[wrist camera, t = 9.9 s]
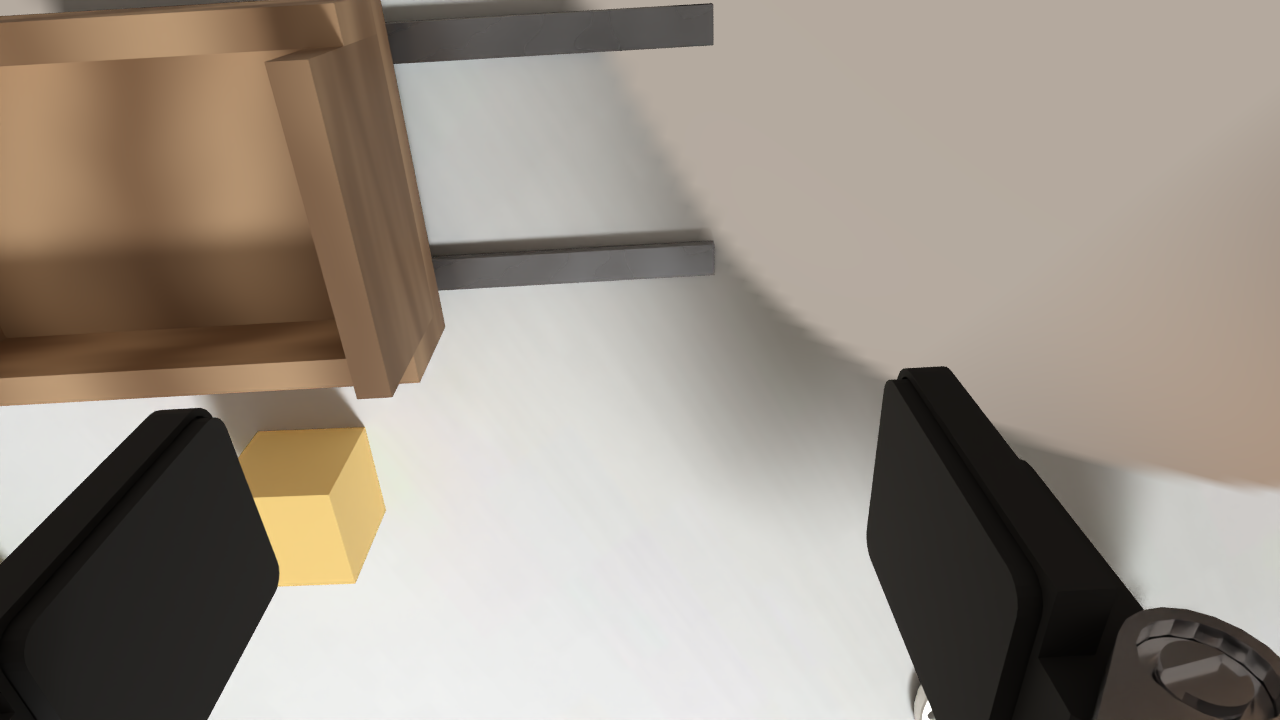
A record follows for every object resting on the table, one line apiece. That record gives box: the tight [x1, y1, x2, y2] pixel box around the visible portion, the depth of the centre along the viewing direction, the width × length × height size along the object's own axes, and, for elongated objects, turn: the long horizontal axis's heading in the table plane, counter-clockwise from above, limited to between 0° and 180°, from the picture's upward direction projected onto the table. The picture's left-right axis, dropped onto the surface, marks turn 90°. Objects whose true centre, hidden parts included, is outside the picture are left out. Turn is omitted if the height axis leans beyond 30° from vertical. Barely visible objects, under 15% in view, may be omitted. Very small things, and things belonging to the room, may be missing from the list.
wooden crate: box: [0, 0, 445, 406], centre depth 23 cm, size 16×11×8 cm
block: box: [238, 427, 386, 586], centre depth 31 cm, size 4×4×4 cm
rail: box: [385, 3, 714, 290], centre depth 25 cm, size 28×11×2 cm, turn 93°
